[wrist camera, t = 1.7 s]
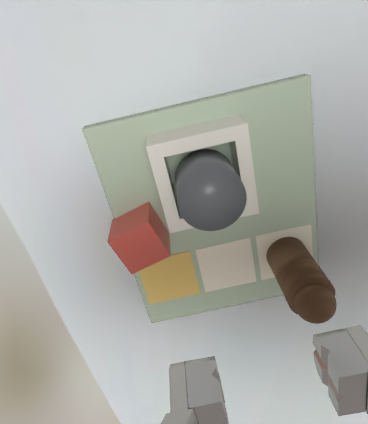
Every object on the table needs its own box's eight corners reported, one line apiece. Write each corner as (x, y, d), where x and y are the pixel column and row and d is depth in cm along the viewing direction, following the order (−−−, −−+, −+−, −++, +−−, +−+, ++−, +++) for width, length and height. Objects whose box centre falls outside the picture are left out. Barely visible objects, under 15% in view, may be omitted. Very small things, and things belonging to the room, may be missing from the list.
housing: (238, 113, 26) (247, 123, 23) (249, 196, 29) (259, 213, 26) (146, 135, 26) (145, 146, 23) (168, 215, 29) (169, 233, 26)
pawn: (304, 233, 31) (348, 292, 24) (305, 264, 32) (347, 329, 25) (264, 241, 31) (296, 303, 24) (268, 272, 33) (299, 339, 26)
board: (305, 73, 26) (311, 75, 25) (314, 280, 35) (319, 287, 34) (84, 126, 26) (81, 129, 25) (151, 315, 36) (151, 323, 35)
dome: (229, 142, 24) (241, 161, 21) (237, 197, 26) (250, 223, 23) (168, 156, 25) (170, 177, 21) (182, 210, 27) (185, 237, 23)
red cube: (149, 201, 28) (148, 221, 25) (169, 233, 30) (170, 256, 27) (112, 219, 29) (107, 242, 26) (134, 249, 31) (131, 274, 27)
